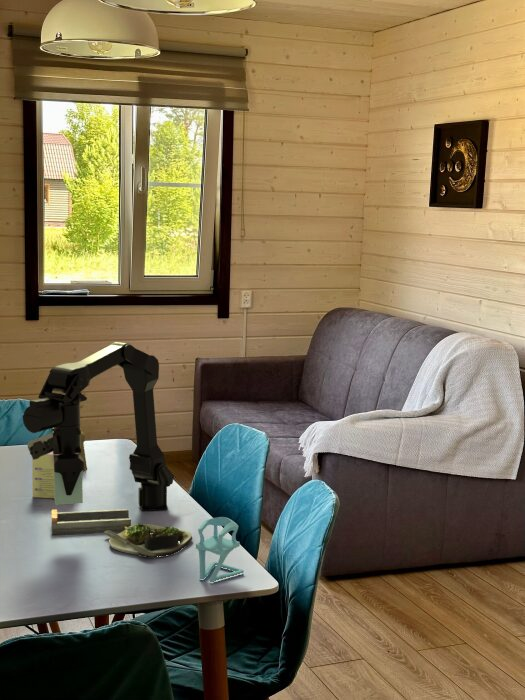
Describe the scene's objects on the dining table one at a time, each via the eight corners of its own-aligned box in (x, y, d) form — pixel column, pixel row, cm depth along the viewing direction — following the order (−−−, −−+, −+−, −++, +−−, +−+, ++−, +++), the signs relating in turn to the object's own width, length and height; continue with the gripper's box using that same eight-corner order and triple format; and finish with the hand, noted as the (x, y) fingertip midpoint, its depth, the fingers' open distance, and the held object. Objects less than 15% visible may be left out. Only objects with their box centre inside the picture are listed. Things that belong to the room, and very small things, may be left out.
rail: (128, 518, 222) (128, 504, 222) (131, 530, 214) (131, 516, 213) (51, 521, 218) (51, 507, 218) (52, 535, 210) (51, 520, 209)
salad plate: (84, 550, 202) (84, 530, 201) (128, 525, 218) (128, 507, 217) (161, 566, 194) (161, 545, 194) (200, 539, 211) (200, 520, 210)
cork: (61, 470, 261) (61, 432, 259) (72, 465, 267) (71, 428, 265) (80, 472, 259) (80, 434, 257) (90, 467, 265) (90, 430, 263)
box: (78, 493, 241) (78, 449, 239) (71, 500, 235) (71, 455, 233) (39, 491, 242) (39, 447, 240) (32, 498, 236) (31, 453, 234)
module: (81, 496, 208) (81, 462, 206) (82, 503, 203) (82, 468, 202) (54, 498, 206) (53, 463, 205) (54, 504, 202) (54, 469, 201)
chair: (190, 578, 188) (190, 522, 186) (214, 565, 194) (214, 511, 192) (220, 587, 183) (221, 530, 181) (244, 574, 190) (245, 518, 188)
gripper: (29, 415, 209) (31, 481, 212) (28, 436, 191) (30, 507, 194) (79, 413, 212) (80, 478, 214) (83, 433, 194) (84, 504, 196)
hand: (68, 491), depth 204 cm, fingers closed on module, 4 cm apart
